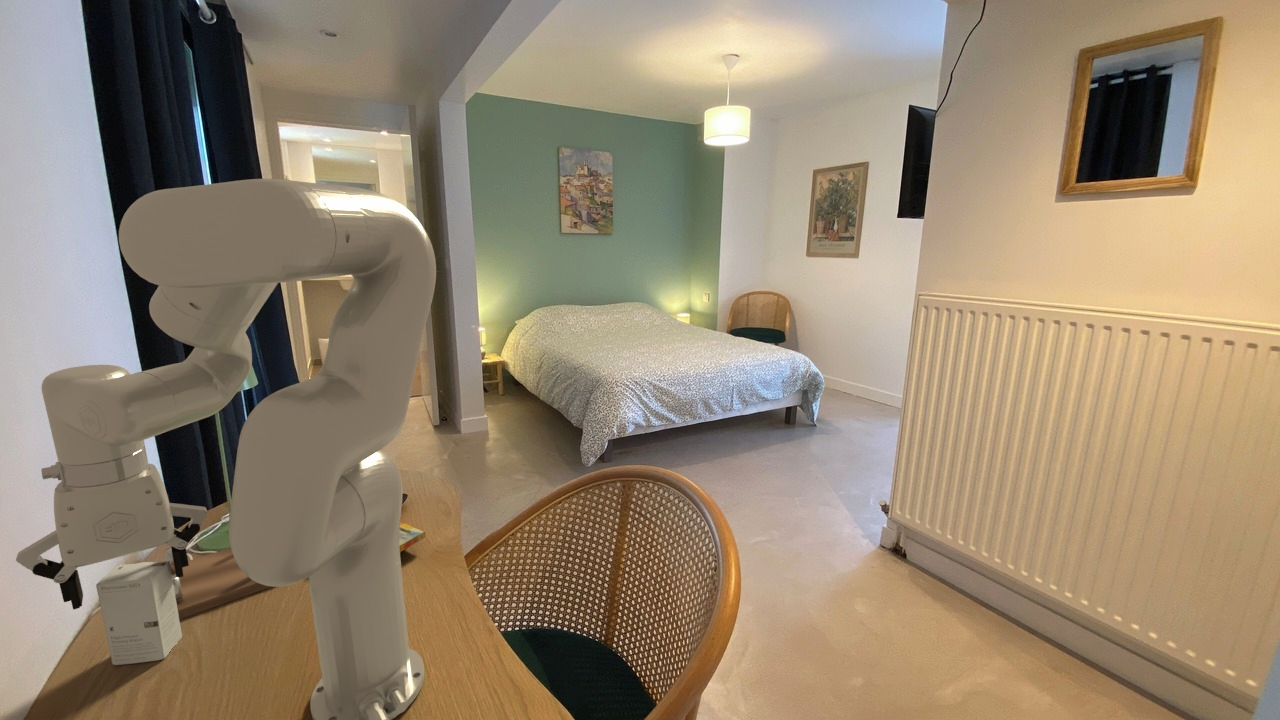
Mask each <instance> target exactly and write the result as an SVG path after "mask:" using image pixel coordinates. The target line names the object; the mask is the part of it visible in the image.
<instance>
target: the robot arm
mask: <svg viewBox="0 0 1280 720" xmlns="http://www.w3.org/2000/svg"><path fill="white" fill-rule="evenodd" d="M118 243H119V248H120V251H121V253H122V257H123V258H124V260H125V261H126V264H127V265H128V266H129V267H130V268H131V270H132V271H133V272H134V273H136V274H137V275H138V276H139V277H140V278H142V279H143V280H145V281H147V282H148V283H151V284H154V285H157V289H156V290H155V291H154V293H153V295H152V296H151V298H150V301H149V304H148V305H149V306H148V310H149V315H150V317H151V319H152V321H153V322H154V323H155V325H156V326H157V327H158V328H159V329H160V330H161V331H162V332H163V333H165V334H166V335H168V336H169V337H171V338H173V339H174V340H176V341H179V342H181V343H183V344H185V345H189V346H192V347H194V348H193V349H192V351H191V352H190V354H189V355H188V356H187V358H186V359H184V360H183V361H182V362H181V361H180V362H178V363H172V364H167V365H164V366H159V367H155V368H152V369H151V368H150V369H146V370H143V371H137V372H135V373H130V372H129V370H127V369H125V368H124V367H121V366H120V365H114V364H113V365H112V364H90V365H81V366H80V365H79V366H73V367H68V368H63V369H61V370H57V371H54V372H51V373H50V374H48V375H46V376H45V377H44V379H43V380H42V383H41V393H42V397H43V398H42V399H43V402H44V405H45V410H46V415H47V418H48V423H49V427H50V428H49V429H50V431H51V436H52V441H53V445H54V448H55V453H56V458H57V461H56V462H55V464H52V465H50V466H49V467H48V466H47V467H43V468H41V477H42V479H43V480H48V479H53V480H54V479H57V480H58V481H60V482H59V483H57V485H56V487H55V488H54V493H53V515H54V524H55V530H53V531H51V532H50V533H49V534H47V535H45V536H44V537H41V538H40V539H38V540H37V541H35V542H33V543H31V544H29V546H26V547H25V548H23V549H21V550H20V551H19V552H18V553H17V555H16V557H15V562H17V563H18V564H20V565H22V567H25V569H27V570H30V571H32V574H33V575H35V576H39V577H42V578H46V579H49V580H53V582H54V583H55V584H59V588H60V592H61V595H62V600H63V603H66V602H71V605H72V610H73V611H74V610H77V609H80V608H81V607H83V599H84V592H83V588H82V584H81V579H80V575H79V571H78V568H81V567H85V566H90V565H94V564H98V563H102V562H106V561H109V560H112V559H113V560H114V559H116V558H120V557H124V556H128V555H132V554H135V553H138V552H143V551H147V550H149V549H153V548H156V547H160V546H161V545H164V544H166V545H168V546H170V548H172V556H173V561H174V566H175V572H176V577H179V578H180V577H183V569H182V568H183V567H186V566H189V564H188V561H189V560H188V559H189V558H188V554H187V553H188V552H187V547H188V545H189V543H190V542H191V541H192V540H193V538H194V537H195V536H196V535H197V534H198V533H199V532H200V530H201V527H202V526H203V524H204V521H205V520H206V517H207V515H208V510H207V507H206V506H200V505H192V504H191V505H190V504H185V503H173V502H170V500H169V495H168V493H167V490H166V486H165V483H164V481H163V478H162V477H161V474H160V472H159V470H158V468H157V466H156V465H155V464H153V463H149V461H148V456H147V451H146V444H145V440H148V439H151V438H154V437H156V436H159V435H161V434H163V433H166V432H170V431H172V430H175V429H178V428H180V427H183V426H186V425H189V424H191V423H194V422H195V423H196V422H197V421H201V420H203V419H206V418H209V417H211V416H213V415H215V414H216V413H218V412H219V411H221V410H222V409H224V408H225V407H226V406H227V405H228V404H229V403H230V402H231V401H232V399H233V398H235V397H234V396H235V395H236V394H237V393H238V392H239V390H240V389H241V387H242V386H243V384H244V383H245V381H246V380H247V378H248V376H249V375H250V372H251V370H252V364H253V352H252V345H251V343H250V342H251V341H250V339H249V337H248V335H247V333H246V332H247V330H248V329H249V327H250V326H251V324H252V323H253V322H254V320H255V318H256V316H258V314H259V312H260V310H261V309H262V307H263V306H264V304H266V302H267V300H268V299H269V297H270V296H271V294H272V293H273V292H274V290H275V289H276V287H277V285H278V284H283V283H294V282H303V281H304V282H305V281H309V280H319V279H325V278H326V279H327V278H336V277H338V278H339V277H344V276H352V278H353V282H352V284H351V287H350V289H349V290H348V292H347V294H346V295H345V296H344V298H343V299H342V301H341V302H340V304H339V306H338V308H337V310H336V312H335V313H334V316H333V318H332V322H331V325H330V328H329V332H328V333H329V335H328V342H327V347H326V353H325V357H324V361H323V364H322V366H321V369H320V370H319V371H318V372H317V373H315V374H314V375H313V376H312V377H311V378H309V379H306V380H303V381H300V382H297V383H294V384H291V385H289V386H286V387H284V388H281V389H279V390H277V391H275V392H273V393H271V394H269V395H268V396H266V397H265V398H263V399H262V400H261V401H260V402H259V403H257V405H256V406H254V408H253V409H252V410H251V412H249V414H248V415H247V418H246V420H245V421H244V423H243V425H242V427H241V430H240V434H239V439H238V446H237V450H236V451H237V453H236V460H235V467H234V477H233V483H232V484H233V485H232V492H231V500H230V508H229V517H228V539H229V545H230V548H231V550H232V553H233V556H234V558H235V560H236V562H237V564H238V566H239V567H240V569H241V570H242V571H243V572H244V573H245V574H246V575H247V576H248V577H249V578H250V579H252V580H253V581H255V582H257V583H260V584H262V585H266V586H272V587H275V588H276V587H287V586H291V585H294V584H298V583H300V582H302V581H304V580H305V579H307V578H308V590H309V596H310V597H309V598H310V601H311V602H310V603H311V611H312V616H313V625H314V631H315V638H316V645H317V651H318V658H319V665H320V671H321V678H320V680H319V681H318V682H317V683H316V685H315V687H314V689H313V691H312V692H311V698H310V702H309V703H310V713H311V717H312V720H394V719H395V718H396V717H397V716H399V715H400V714H402V713H404V712H405V711H406V710H407V709H408V707H409V706H410V705H411V704H412V703H413V702H414V701H415V699H416V698H417V696H418V695H419V694H420V691H421V689H422V688H423V684H424V681H425V665H424V661H423V659H422V656H421V655H420V654H419V653H418V652H417V651H416V650H414V649H412V648H411V647H409V637H408V636H409V635H408V628H407V625H408V624H407V617H406V607H405V596H404V595H405V594H404V584H403V576H402V575H403V574H402V573H403V572H402V570H403V569H402V562H401V552H400V545H399V527H400V521H401V514H402V508H403V489H404V488H403V481H402V476H401V473H400V471H399V468H398V467H397V465H396V463H395V462H394V460H393V459H392V458H391V457H390V456H389V455H388V454H387V453H386V452H384V451H382V449H383V448H386V446H388V445H389V444H391V442H393V441H394V440H395V439H396V438H397V437H398V436H399V435H400V433H401V432H402V429H403V427H404V425H405V421H406V417H407V413H408V409H409V404H410V401H411V395H412V391H413V385H414V381H415V376H416V372H417V369H418V368H417V367H418V363H419V357H420V353H421V352H420V351H421V346H422V342H423V341H422V340H423V337H424V336H423V335H424V333H425V329H426V324H427V321H428V318H429V314H430V310H431V306H432V302H433V299H434V294H435V290H436V289H435V288H436V287H435V286H436V280H437V264H436V263H437V262H436V256H435V251H434V248H433V244H432V241H431V239H430V237H429V235H428V232H427V231H426V230H425V228H424V226H423V225H422V223H421V221H420V220H419V219H418V218H417V217H416V215H414V214H413V212H411V211H410V209H408V208H407V207H406V206H405V205H403V204H402V203H400V202H399V201H397V200H395V199H394V198H391V197H390V196H388V195H385V194H383V193H380V192H378V191H374V190H372V189H371V190H370V189H366V188H361V187H355V186H354V187H353V186H347V185H340V184H327V183H315V182H307V181H301V180H300V181H298V180H290V179H281V178H279V179H276V178H253V179H252V178H251V179H242V180H241V179H240V180H234V181H233V180H232V181H226V182H218V183H217V182H216V183H209V184H208V183H207V184H202V185H200V184H199V185H193V186H185V187H184V186H183V187H181V186H180V187H174V188H164V189H158V190H155V191H151V192H148V193H146V194H143V196H141V197H139V198H137V199H136V200H135V201H134V202H133V203H132V204H131V205H130V206H129V207H128V208H127V210H126V212H125V213H124V215H123V216H122V219H121V221H120V224H119V228H118ZM173 517H182V518H190V521H189V522H188V523H187V524H186V525H185V527H183V529H181V530H180V529H178V528H176V527H175V526H174V525H175V524H174V518H173ZM55 546H58V549H59V553H60V557H61V561H60V562H56V561H53V560H49V559H47V558H44V557H43V556H41V555H42V554H44V553H46V552H47V551H49V550H51V549H52V548H54V547H55Z"/></svg>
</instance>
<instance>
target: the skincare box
mask: <svg viewBox="0 0 1280 720" xmlns="http://www.w3.org/2000/svg"><path fill="white" fill-rule="evenodd" d="M95 587H96V590H97V591H96V592H97V596H98V601H99V605H100V611H101V615H102V619H103V624H104V629H105V634H106V640H107V645H108V649H109V654H110V659H111V664H112V665H113V666H120V665H131V664H139V663H146V662H149V663H150V662H155V661H160V660H163V659H165V658H167V657H168V655H169V654H170V653H171V652H172V650H173V649H174V648H175V647H176V646H177V644H178V643H179V642H180V640H182V638H183V633H182V627H181V621H180V619H179V615H178V609H177V603H176V597H175V591H174V585H173V579H172V573H171V567H170V562H169V561H166V560H165V561H153V562H151V561H143V562H136V563H130V564H129V563H128V564H117V565H116V566H115V567H114V568H113V569H112V570H111V571H109V572H108V573H107V574H106V575H104V577H102V578H101V579H100V580H99V581H98V583H96V585H95ZM178 641H179V642H178ZM175 645H176V646H175ZM174 646H175V647H174ZM173 647H174V648H173ZM172 648H173V649H172ZM171 649H172V650H171ZM170 651H171V652H170ZM169 652H170V653H169Z"/></svg>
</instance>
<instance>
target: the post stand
mask: <svg viewBox="0 0 1280 720" xmlns="http://www.w3.org/2000/svg"><path fill="white" fill-rule="evenodd" d="M163 553H164V558H165V559H164V560H165V561H169V562H170V567H171V573H172V579H173V585H174V591H175V597H176V603H177V609H178V615H179V620H182V619H184V617H185V618H187V616H188V617H190V616H192V615H197V614H199V613H201V612H204V611H207V610H210V609H212V608H215V607H218V606H221V605H224V604H227V603H229V602H232V601H234V600H235V601H236V600H238V599H241V598H243V597H246V596H249V595H252V594H254V593H257V592H260V591H262V590H266V589H269V588H272V587H273V586H266V585H262V584H260V583H257V582H255V581H253V580H252V579H250V578H249V577H248V576H247V575H246V574H245V573H244V572H243V571H242V570H241V569H240V567H239V566H238V564H237V562H236V560H235V558H234V556H233V553H232V550H231V547H230V548H226V549H222V550H219V551H217V552H213V553H210V554H206V555H204V556H200V557H197V558H192V559H189V560H188V564H189V566H186V567H183V568H182V569H183V577H180V578H179V577H176V572H175V566H174V561H173V556H172V548H171V547H168V548H165V549H164V550H163Z"/></svg>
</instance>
